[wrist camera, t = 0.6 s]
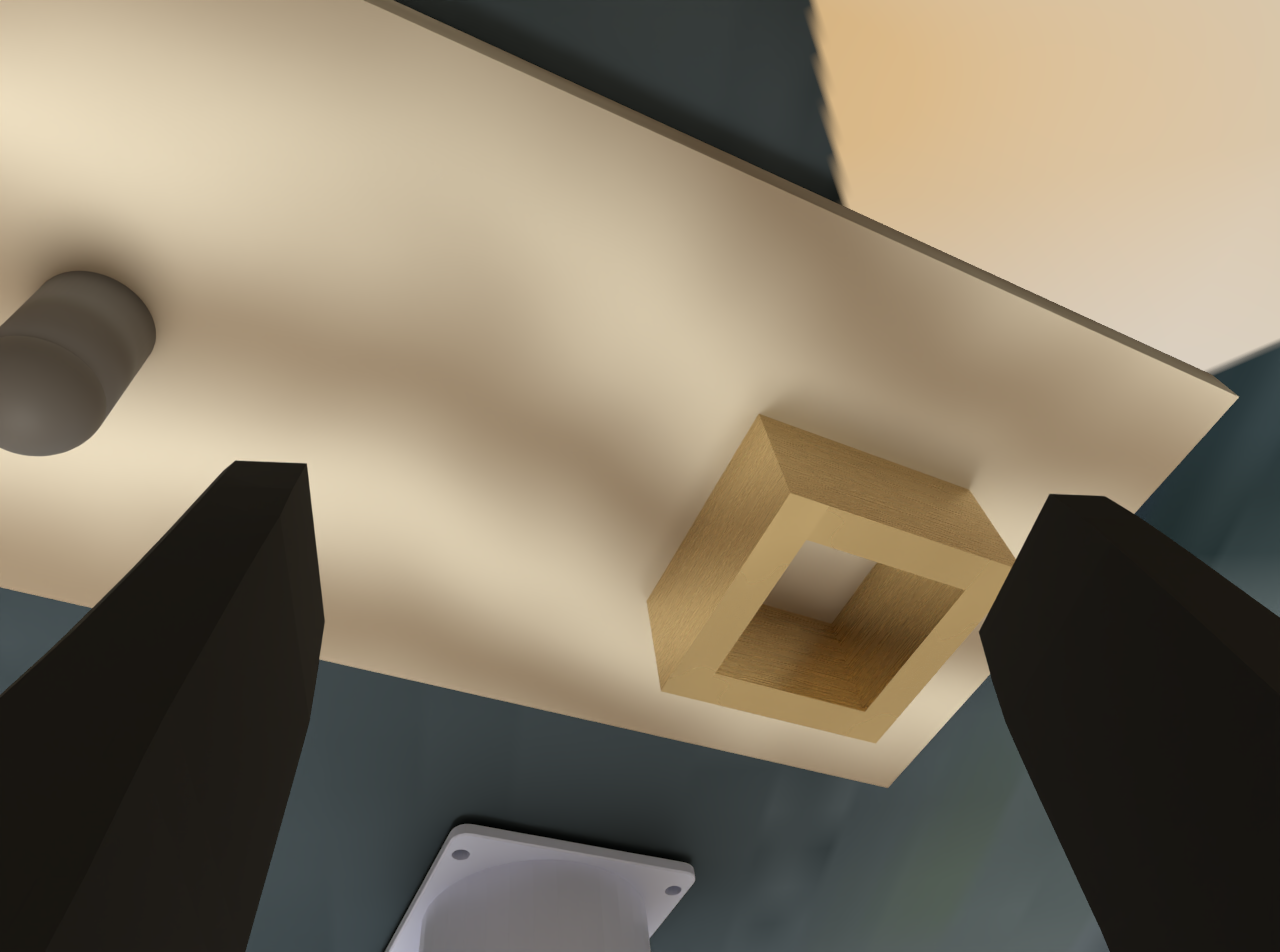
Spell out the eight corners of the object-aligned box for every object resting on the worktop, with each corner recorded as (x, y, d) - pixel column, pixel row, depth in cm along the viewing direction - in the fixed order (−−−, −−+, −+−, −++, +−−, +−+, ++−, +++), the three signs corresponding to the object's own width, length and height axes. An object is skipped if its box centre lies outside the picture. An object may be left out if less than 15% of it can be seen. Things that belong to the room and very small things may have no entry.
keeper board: (877, 759, 28) (930, 901, 24) (-254, 492, 19) (-437, 652, 15) (1211, 374, 21) (1355, 490, 18) (-299, -317, 12) (-644, -373, 9)
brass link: (842, 655, 24) (876, 743, 22) (646, 600, 22) (660, 691, 20) (969, 489, 21) (1023, 571, 19) (758, 413, 19) (790, 493, 17)
